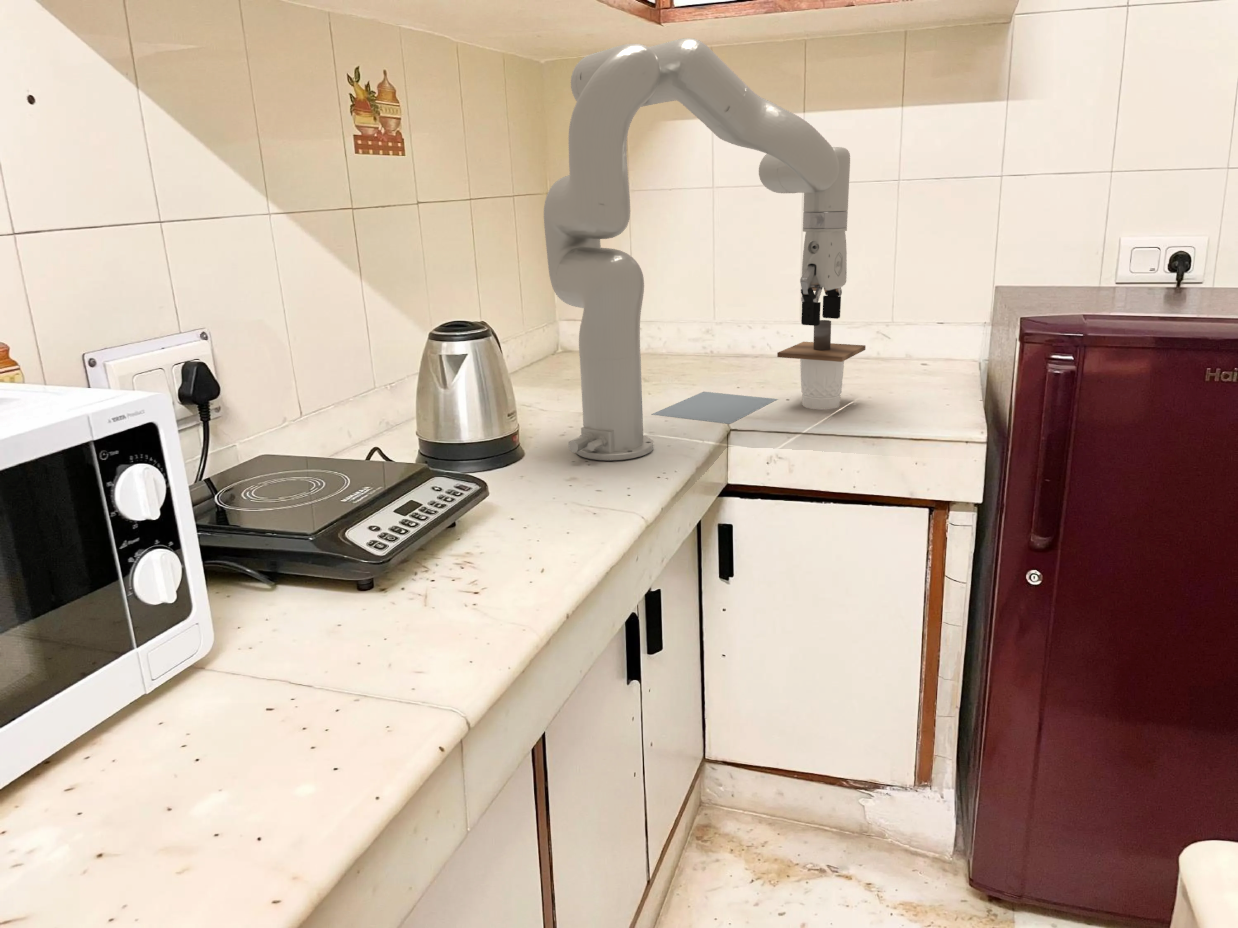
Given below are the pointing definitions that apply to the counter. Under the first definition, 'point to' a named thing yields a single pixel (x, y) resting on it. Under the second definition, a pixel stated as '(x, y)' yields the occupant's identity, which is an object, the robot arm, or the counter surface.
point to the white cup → (821, 383)
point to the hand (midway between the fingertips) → (821, 321)
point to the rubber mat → (715, 407)
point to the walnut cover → (822, 347)
